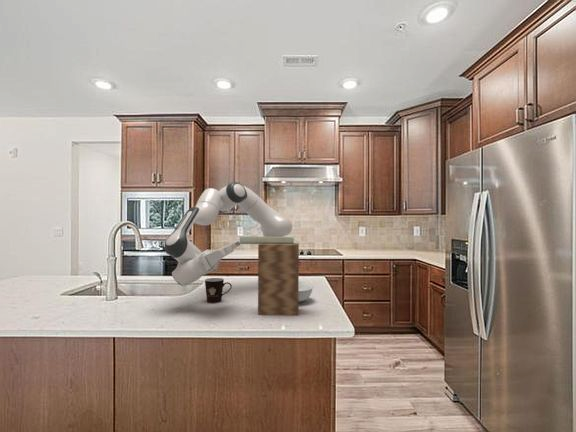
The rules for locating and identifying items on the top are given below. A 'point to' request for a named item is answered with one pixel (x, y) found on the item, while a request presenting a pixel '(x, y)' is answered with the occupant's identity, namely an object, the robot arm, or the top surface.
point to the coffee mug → (215, 289)
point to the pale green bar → (266, 240)
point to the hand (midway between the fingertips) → (237, 243)
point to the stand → (278, 279)
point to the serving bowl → (304, 291)
